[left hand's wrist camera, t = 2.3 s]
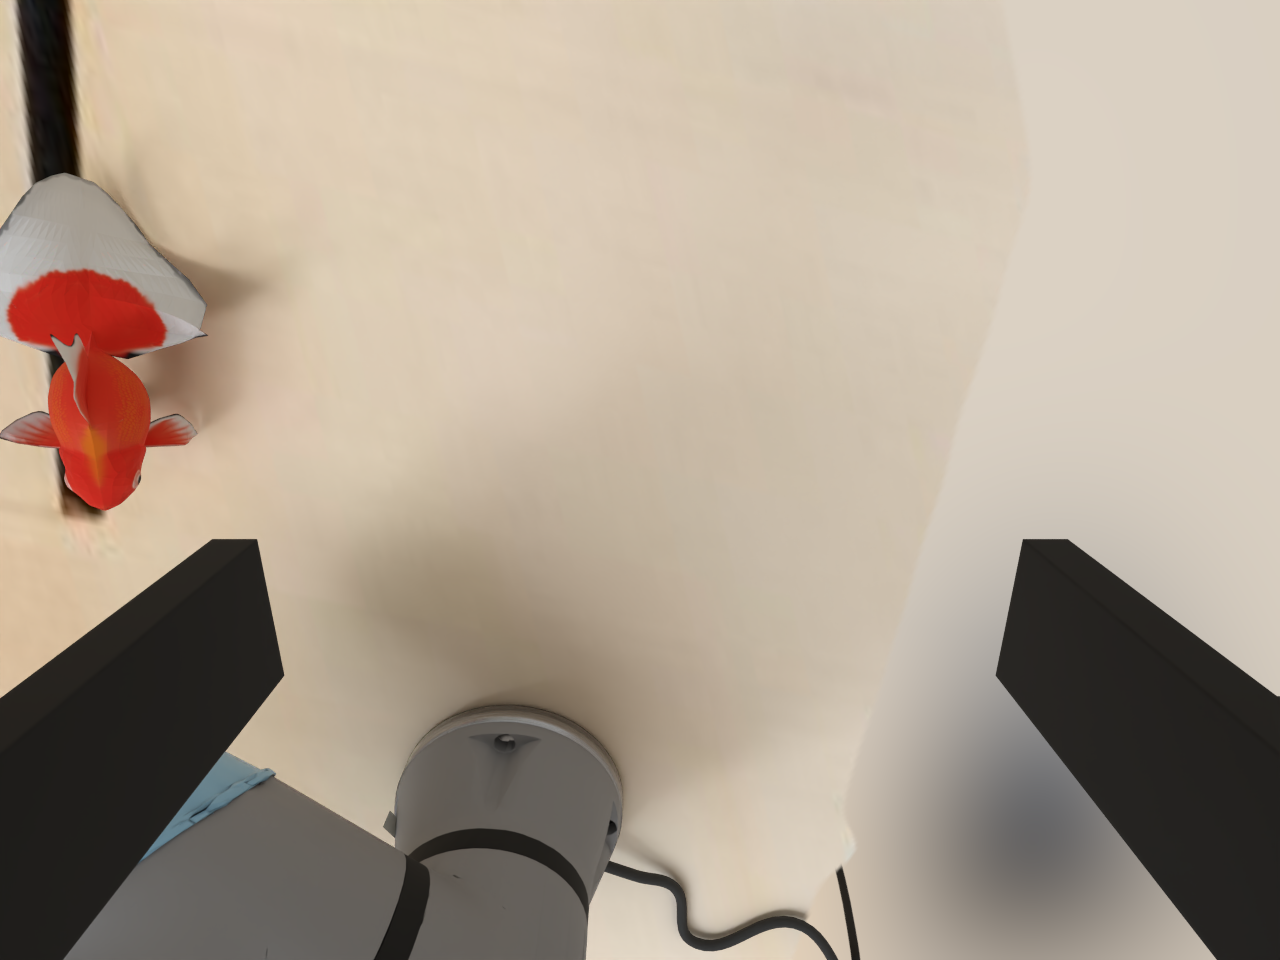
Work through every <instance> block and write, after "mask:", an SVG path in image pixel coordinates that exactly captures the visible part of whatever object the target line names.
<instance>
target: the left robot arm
mask: <svg viewBox="0 0 1280 960" xmlns="http://www.w3.org/2000/svg"><path fill="white" fill-rule="evenodd" d="M283 677H284V671H283V666H282V661H281V656H280V651H279V646H278V641H277V636H276V632H275V627H274V622H273V617H272V612H271V607H270V602H269V597H268V592H267V587H266V582H265V577H264V572H263V567H262V562H261V557H260V552H259V547H258V542H257V539H212V540H211V541H209V542H208V543H207V544H205V545H204V546H203V547H201V548H200V549H199V550H197V551H196V552H195V553H193V554H192V555H191V556H189V557H188V558H187V559H185V560H184V561H183V562H181V563H180V564H179V565H177V566H176V567H175V568H173V569H172V570H171V571H169V572H168V573H167V574H165V575H164V576H163V577H161V578H160V579H159V580H157V581H156V582H155V583H153V584H152V585H151V586H149V587H148V588H147V589H145V590H144V591H143V592H141V593H140V594H139V595H137V596H136V597H135V598H133V599H132V600H131V601H129V602H128V603H127V604H125V605H124V606H123V607H121V608H120V609H119V610H117V611H116V612H115V613H113V614H112V615H111V616H109V617H108V618H107V619H105V620H104V621H103V622H101V623H100V624H99V625H97V626H96V627H95V628H93V629H92V630H91V631H89V632H88V633H87V634H85V635H84V636H83V637H81V638H80V639H79V640H77V641H76V642H75V643H73V644H72V645H71V646H69V647H68V648H67V649H65V650H64V651H63V652H61V653H60V654H59V655H57V656H56V657H55V658H53V659H52V660H51V661H49V662H48V663H47V664H45V665H44V666H43V667H41V668H40V669H39V670H37V671H36V672H35V673H33V674H32V675H31V676H29V677H28V678H27V679H25V680H24V681H23V682H21V683H20V684H19V685H17V686H16V687H15V688H13V689H12V690H11V691H9V692H8V693H7V694H5V695H4V696H3V697H1V698H0V960H586V946H587V927H588V913H589V904H590V902H591V900H592V898H593V895H594V893H595V891H596V889H597V886H598V884H599V882H600V880H601V877H602V875H603V873H604V872H607V873H610V874H613V875H616V876H619V877H622V878H626V879H629V880H632V881H635V882H639V883H643V884H649V885H656V886H661V887H664V888H667V889H668V890H670V891H671V892H672V893H673V894H674V896H675V898H676V902H677V924H678V930H679V933H680V936H681V937H682V939H683V940H684V941H685V942H686V943H687V944H688V945H690V946H692V947H693V948H695V949H699V950H703V951H718V950H723V949H726V948H729V947H732V946H734V945H736V944H738V943H740V942H743V941H745V940H747V939H749V938H751V937H753V936H755V935H757V934H759V933H762V932H764V931H767V930H770V929H774V928H782V927H787V928H794V929H797V930H799V931H802V932H803V933H805V934H807V935H808V936H809V937H810V938H811V939H812V940H814V942H815V943H816V944H817V945H818V946H819V948H820V949H821V951H822V952H823V954H824V955H825V957H826V959H827V960H838V959H837V957H836V955H835V953H834V951H833V950H832V948H831V946H830V945H829V944H828V942H827V941H826V939H825V938H824V937H823V936H822V935H821V933H820V932H818V931H817V930H816V929H815V928H814V927H813V926H811V925H810V924H808V923H806V922H805V921H803V920H800V919H797V918H794V917H788V916H777V917H771V918H767V919H764V920H761V921H758V922H756V923H754V924H752V925H750V926H748V927H746V928H744V929H742V930H739V931H737V932H735V933H733V934H731V935H729V936H726V937H723V938H720V939H715V940H704V939H700V938H697V937H695V936H693V935H692V934H691V933H690V931H689V930H688V927H687V906H686V898H685V894H684V892H683V890H682V888H681V887H680V885H679V884H678V883H677V882H675V881H674V880H673V879H671V878H669V877H667V876H664V875H660V874H654V873H648V872H642V871H639V870H635V869H632V868H629V867H626V866H623V865H620V864H617V863H614V862H611V861H609V860H610V857H611V855H612V852H613V850H614V848H615V845H616V842H617V839H618V837H619V833H620V829H621V823H622V786H621V781H620V777H619V774H618V771H617V769H616V766H615V764H614V762H613V761H612V759H611V757H610V756H609V754H608V753H607V751H606V750H605V749H604V747H603V746H602V745H601V744H600V743H599V742H598V741H597V740H596V739H595V738H594V737H593V736H592V735H591V734H589V733H588V732H587V731H586V730H584V729H583V728H581V727H580V726H578V725H577V724H575V723H573V722H572V721H570V720H568V719H566V718H564V717H561V716H559V715H557V714H554V713H551V712H548V711H545V710H541V709H537V708H532V707H525V706H515V705H497V706H487V707H482V708H477V709H473V710H469V711H466V712H463V713H460V714H458V715H455V716H453V717H451V718H449V719H447V720H445V721H444V722H442V723H440V724H439V725H437V726H436V727H435V728H433V729H432V730H431V731H430V732H429V733H427V734H426V735H425V736H424V737H423V738H422V740H421V741H420V742H419V743H418V744H417V746H416V747H415V749H414V750H413V752H412V753H411V755H410V757H409V759H408V762H407V764H406V766H405V769H404V771H403V773H402V776H401V778H400V781H399V784H398V787H397V792H396V799H395V815H394V814H393V813H392V812H391V811H390V812H389V814H388V817H387V819H386V821H385V824H384V826H383V827H384V828H385V829H386V830H387V831H388V832H389V833H390V834H391V835H392V836H394V837H395V848H394V847H392V846H391V845H389V844H387V843H386V842H384V841H382V840H381V839H379V838H377V837H375V836H374V835H372V834H370V833H369V832H367V831H365V830H363V829H362V828H360V827H358V826H357V825H355V824H353V823H352V822H350V821H348V820H346V819H345V818H343V817H341V816H340V815H338V814H336V813H334V812H333V811H331V810H329V809H328V808H326V807H324V806H323V805H321V804H319V803H317V802H316V801H314V800H312V799H311V798H309V797H307V796H305V795H304V794H302V793H300V792H299V791H297V790H295V789H294V788H292V787H290V786H288V785H287V784H285V783H283V782H282V781H280V780H278V779H276V778H275V777H274V776H275V775H276V773H275V772H274V771H273V770H271V769H269V768H266V769H261V770H260V769H258V768H257V767H255V766H253V765H251V764H249V763H247V762H245V761H243V760H241V759H239V758H237V757H235V756H233V755H231V754H229V753H227V752H225V751H226V750H227V748H228V747H229V746H230V745H231V743H232V742H233V741H234V739H235V738H236V737H237V736H238V734H239V733H240V732H241V730H242V729H243V728H244V727H245V725H246V724H247V723H248V721H249V720H250V719H251V718H252V716H253V715H254V714H255V712H256V711H257V710H258V709H259V707H260V706H261V705H262V703H263V702H264V701H265V700H266V698H267V697H268V696H269V694H270V693H271V692H272V691H273V689H274V688H275V687H276V685H277V684H278V683H279V682H280V680H281V679H282V678H283ZM996 677H997V678H998V679H999V680H1000V682H1001V683H1002V684H1003V685H1004V687H1005V688H1006V689H1007V691H1008V692H1009V693H1010V694H1011V696H1012V697H1013V698H1014V700H1015V701H1016V702H1017V703H1018V705H1019V706H1020V707H1021V709H1022V710H1023V711H1024V712H1025V714H1026V715H1027V716H1028V718H1029V719H1030V720H1031V721H1032V723H1033V724H1034V725H1035V727H1036V728H1037V729H1038V730H1039V732H1040V733H1041V734H1042V736H1043V737H1044V738H1045V739H1046V741H1047V742H1048V743H1049V745H1050V746H1051V747H1052V748H1053V750H1054V751H1055V752H1056V754H1057V755H1058V756H1059V757H1060V759H1061V760H1062V761H1063V763H1064V764H1065V765H1066V766H1067V768H1068V769H1069V770H1070V772H1071V773H1072V774H1073V775H1074V777H1075V778H1076V779H1077V781H1078V782H1079V783H1080V784H1081V786H1082V787H1083V788H1084V790H1085V791H1086V792H1087V793H1088V795H1089V796H1090V797H1091V798H1092V800H1093V801H1094V802H1095V804H1096V805H1097V806H1098V808H1099V809H1100V810H1101V811H1102V813H1103V814H1104V815H1105V817H1106V818H1107V819H1108V820H1109V822H1110V823H1111V824H1112V826H1113V827H1114V828H1115V829H1116V831H1117V832H1118V833H1119V834H1120V836H1121V837H1122V838H1123V840H1124V841H1125V842H1126V844H1127V845H1128V846H1129V847H1130V849H1131V850H1132V851H1133V853H1134V854H1135V855H1136V856H1137V858H1138V859H1139V860H1140V862H1141V863H1142V864H1143V865H1144V867H1145V868H1146V869H1147V870H1148V872H1149V873H1150V874H1151V876H1152V877H1153V878H1154V880H1155V881H1156V882H1157V883H1158V885H1159V886H1160V887H1161V888H1162V890H1163V891H1164V892H1165V894H1166V895H1167V896H1168V898H1169V899H1170V900H1171V901H1172V903H1173V904H1174V905H1175V907H1176V908H1177V909H1178V910H1179V912H1180V913H1181V914H1182V916H1183V917H1184V918H1185V919H1186V921H1187V922H1188V923H1189V924H1190V926H1191V927H1192V928H1193V930H1194V931H1195V932H1196V934H1197V935H1198V936H1199V937H1200V939H1201V940H1202V941H1203V943H1204V944H1205V945H1206V946H1207V948H1208V949H1209V950H1210V952H1211V953H1212V954H1213V955H1214V957H1215V958H1216V959H1217V960H1280V696H1276V695H1274V694H1273V693H1272V692H1270V691H1269V690H1268V689H1266V688H1265V687H1264V686H1262V685H1261V684H1260V683H1259V682H1257V681H1256V680H1255V679H1253V678H1252V677H1251V676H1249V675H1248V674H1246V673H1245V672H1244V671H1243V670H1241V669H1240V668H1239V667H1237V666H1236V665H1235V664H1233V663H1232V662H1231V661H1229V660H1228V659H1227V658H1225V657H1224V656H1223V655H1221V654H1220V653H1219V652H1217V651H1216V650H1215V649H1213V648H1212V647H1211V646H1209V645H1208V644H1207V643H1205V642H1204V641H1203V640H1201V639H1200V638H1199V637H1197V636H1196V635H1195V634H1193V633H1192V632H1190V631H1189V630H1188V629H1187V628H1185V627H1184V626H1183V625H1181V624H1180V623H1179V622H1177V621H1176V620H1175V619H1173V618H1172V617H1171V616H1169V615H1168V614H1166V613H1165V612H1164V611H1163V610H1161V609H1160V608H1159V607H1157V606H1156V605H1155V604H1153V603H1152V602H1150V601H1149V600H1148V599H1147V598H1145V597H1144V596H1143V595H1141V594H1140V593H1139V592H1137V591H1136V590H1134V589H1133V588H1132V587H1131V586H1129V585H1128V584H1127V583H1125V582H1124V581H1123V580H1121V579H1120V578H1119V577H1117V576H1116V575H1115V574H1113V573H1112V572H1111V571H1109V570H1108V569H1107V568H1105V567H1104V566H1103V565H1101V564H1100V563H1099V562H1097V561H1096V560H1095V559H1093V558H1092V557H1091V556H1089V555H1088V554H1087V553H1085V552H1084V551H1083V550H1081V549H1080V548H1079V547H1077V546H1076V545H1075V544H1073V543H1072V542H1071V541H1069V540H1068V539H1023V542H1022V547H1021V552H1020V557H1019V562H1018V567H1017V572H1016V577H1015V582H1014V587H1013V592H1012V597H1011V602H1010V607H1009V612H1008V617H1007V622H1006V627H1005V632H1004V637H1003V641H1002V647H1001V651H1000V656H999V661H998V667H997V672H996ZM836 875H837V879H838V884H839V889H840V894H841V898H842V903H843V909H844V915H845V921H846V926H847V933H848V939H849V945H850V952H851V960H860V952H859V946H858V940H857V934H856V928H855V923H854V917H853V912H852V907H851V901H850V897H849V892H848V888H847V883H846V879H845V875H844V871H843V867H842V866H841V867H839V868H838V869H837V870H836Z"/></svg>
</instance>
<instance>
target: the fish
mask: <svg viewBox="0 0 1280 960" xmlns="http://www.w3.org/2000/svg"><path fill="white" fill-rule="evenodd" d="M206 307H207V304H206V303H205V301H204V300H203V298H202V297H201V296H200V294H199V293H198V291H197V290H196V289H195V287H194V286H193V284H192V283H191V282H190V280H189V279H188V278H187V277H186V276H184V275H183V274H182V273H181V272H180V271H179V270H178V269H176V268H175V267H174V266H173V265H172V264H171V263H170V262H169V261H168V260H166V259H165V258H164V257H163V256H162V255H161V254H160V253H159V252H158V251H157V250H156V249H154V248H153V247H152V246H151V245H150V244H149V242H148V241H147V240H146V238H145V237H144V235H143V234H142V233H141V231H140V230H139V228H138V227H137V226H136V225H135V223H134V222H133V221H132V220H131V219H130V218H129V216H128V215H127V214H126V213H125V212H124V211H123V209H122V208H121V207H120V206H119V205H118V204H117V203H116V202H115V201H114V200H113V199H112V198H111V197H110V196H109V195H108V194H107V193H106V192H105V191H104V190H103V189H101V188H100V187H99V186H98V185H97V184H95V183H94V182H91V181H88V180H85V179H82V178H79V177H76V176H73V175H70V174H67V173H62V174H58V175H53V176H50V177H48V178H46V179H43V180H41V181H39V182H37V183H35V184H34V185H33V186H32V187H31V188H30V189H29V190H28V191H27V192H26V193H25V194H24V195H23V196H22V198H21V199H20V201H19V202H18V204H17V205H16V207H15V208H14V210H13V211H12V213H11V214H10V216H9V217H8V218H7V220H6V221H5V223H4V224H3V226H2V227H1V229H0V336H2V337H4V338H7V339H10V340H12V341H15V342H17V343H20V344H23V345H26V346H29V347H32V348H35V349H37V350H40V351H43V352H46V353H49V354H52V355H55V356H58V357H63V359H64V361H65V362H64V363H63V364H62V365H61V366H60V368H59V369H58V370H57V371H56V373H55V374H54V376H53V378H52V381H51V385H50V389H49V395H48V407H49V414H48V413H45V412H42V411H37V412H33V413H30V414H28V415H26V416H24V417H22V418H19V419H17V420H16V421H14V422H13V423H11V424H10V425H9V426H7V427H6V428H5V429H3V430H2V431H1V433H0V438H1V439H4V440H8V441H11V442H15V443H19V444H26V445H33V446H39V447H47V448H59V453H60V456H61V459H62V461H63V463H64V465H65V469H66V472H65V477H64V479H65V483H66V485H67V487H68V488H70V489H71V490H72V491H74V492H75V493H76V494H77V495H79V496H80V497H81V498H82V499H83V500H84V501H85V502H86V503H88V504H89V505H90V506H93V507H96V508H98V509H101V510H109V509H111V508H113V507H115V506H117V505H119V504H121V503H122V502H123V501H124V500H125V499H126V498H127V497H129V496H130V495H131V494H132V493H133V492H134V491H135V489H136V487H137V486H138V485H139V483H140V480H141V466H142V462H143V459H144V456H145V453H146V447H157V446H180V445H186V444H187V443H188V442H189V441H190V440H191V439H192V437H194V436H196V435H197V432H196V430H195V429H194V427H193V426H192V424H191V423H189V422H188V421H187V420H186V419H185V418H184V417H182V416H181V415H179V414H173V415H170V416H166V417H163V418H159V419H157V420H155V421H153V422H151V423H150V419H151V410H150V400H149V397H148V394H147V391H146V389H145V387H144V385H143V383H142V382H141V380H140V379H139V378H138V377H137V375H136V374H135V373H134V372H132V371H131V370H130V369H129V368H128V367H127V366H125V365H124V364H123V363H121V362H120V361H119V360H117V359H116V358H114V357H112V356H115V357H120V358H125V359H130V358H133V357H136V356H140V355H143V354H146V353H149V352H152V351H156V350H159V349H162V348H165V347H169V346H173V345H177V344H180V343H183V342H185V341H188V340H191V339H193V338H196V337H203V336H208V335H207V334H205V333H204V332H202V331H201V330H200V328H201V324H202V321H203V317H204V314H205V310H206Z"/></svg>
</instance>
